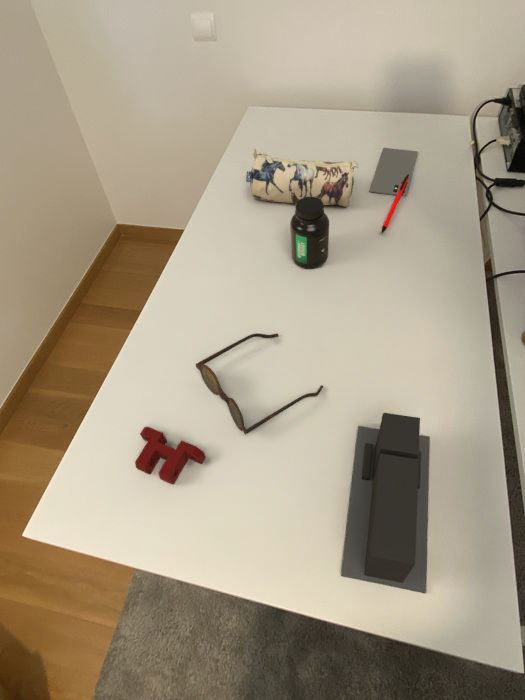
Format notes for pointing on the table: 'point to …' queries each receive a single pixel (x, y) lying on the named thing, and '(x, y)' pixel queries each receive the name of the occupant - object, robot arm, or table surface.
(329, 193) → the pencil case
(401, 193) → the pen
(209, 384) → the eyeglasses
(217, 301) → the table surface
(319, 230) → the supplement bottle
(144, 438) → the bracket
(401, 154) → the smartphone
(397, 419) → the black rectangular box
